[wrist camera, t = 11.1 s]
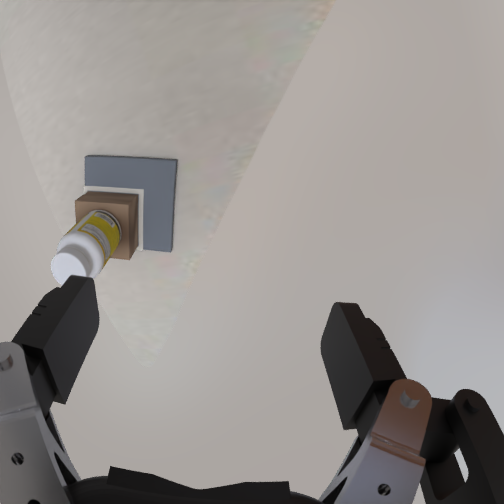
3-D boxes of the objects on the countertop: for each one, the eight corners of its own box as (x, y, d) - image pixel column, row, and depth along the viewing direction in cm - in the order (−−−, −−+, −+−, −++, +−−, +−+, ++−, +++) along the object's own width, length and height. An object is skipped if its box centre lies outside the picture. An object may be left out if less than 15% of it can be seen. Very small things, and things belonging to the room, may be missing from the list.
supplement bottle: (89, 252, 36) (55, 296, 27) (77, 212, 34) (36, 248, 25) (127, 248, 36) (99, 294, 27) (117, 205, 34) (82, 242, 25)
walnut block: (88, 191, 37) (74, 200, 33) (138, 194, 37) (128, 204, 34) (90, 240, 40) (79, 254, 36) (137, 245, 40) (129, 260, 37)
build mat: (86, 155, 36) (83, 156, 35) (177, 159, 37) (175, 161, 36) (89, 241, 41) (86, 245, 40) (172, 250, 42) (170, 254, 41)
